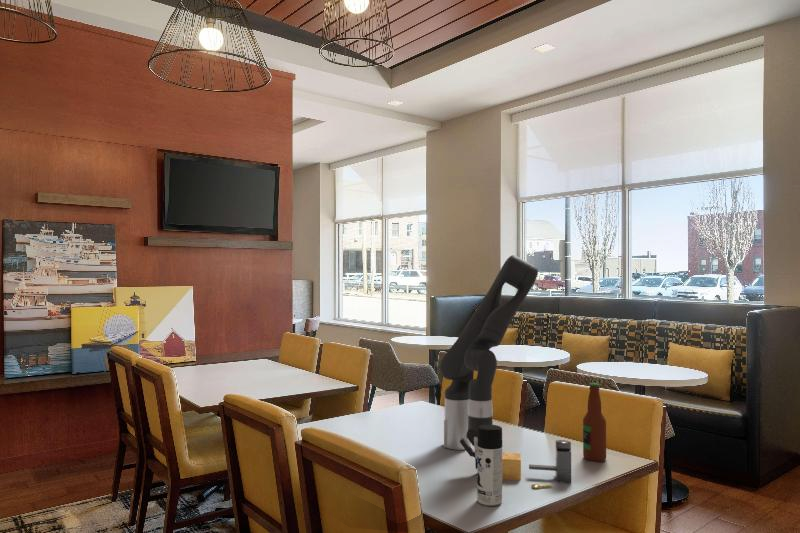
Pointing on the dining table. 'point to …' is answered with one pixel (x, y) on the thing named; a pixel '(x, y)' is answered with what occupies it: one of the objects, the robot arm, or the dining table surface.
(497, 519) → the dining table surface
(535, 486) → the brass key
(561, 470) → the grey mallet
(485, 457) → the spray can
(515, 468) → the wooden block
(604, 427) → the bottle
